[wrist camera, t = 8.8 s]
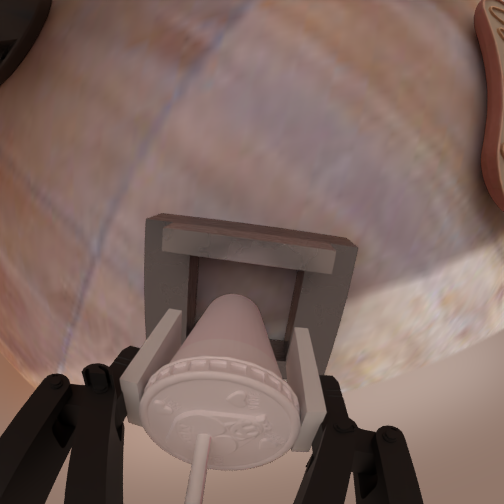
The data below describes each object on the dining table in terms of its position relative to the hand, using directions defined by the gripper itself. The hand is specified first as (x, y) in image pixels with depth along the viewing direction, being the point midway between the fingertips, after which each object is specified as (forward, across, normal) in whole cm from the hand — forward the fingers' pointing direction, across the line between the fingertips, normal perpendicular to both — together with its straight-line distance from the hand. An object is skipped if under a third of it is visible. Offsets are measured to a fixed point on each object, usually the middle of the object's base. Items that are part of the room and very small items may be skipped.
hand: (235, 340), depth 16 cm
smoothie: (+3, 0, 0) cm, 3 cm away
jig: (+7, 0, 0) cm, 7 cm away
